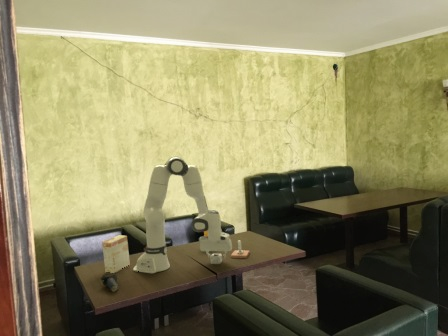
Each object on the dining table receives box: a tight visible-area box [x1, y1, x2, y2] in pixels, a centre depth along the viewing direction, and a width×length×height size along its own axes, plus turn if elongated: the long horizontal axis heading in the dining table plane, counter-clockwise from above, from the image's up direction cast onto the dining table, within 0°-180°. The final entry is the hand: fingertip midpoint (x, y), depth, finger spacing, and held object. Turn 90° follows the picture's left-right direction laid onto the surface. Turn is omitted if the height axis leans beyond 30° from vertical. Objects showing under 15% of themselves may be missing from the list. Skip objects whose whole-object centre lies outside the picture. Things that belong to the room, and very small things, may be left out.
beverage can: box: [100, 272, 119, 293], centre depth 201 cm, size 9×8×12 cm
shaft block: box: [230, 240, 250, 259], centre depth 239 cm, size 10×10×10 cm
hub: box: [210, 253, 223, 265], centre depth 229 cm, size 6×6×5 cm
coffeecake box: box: [101, 234, 131, 274], centre depth 230 cm, size 15×7×20 cm, turn 152°
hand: (216, 257), depth 230 cm, fingers open, 8 cm apart
